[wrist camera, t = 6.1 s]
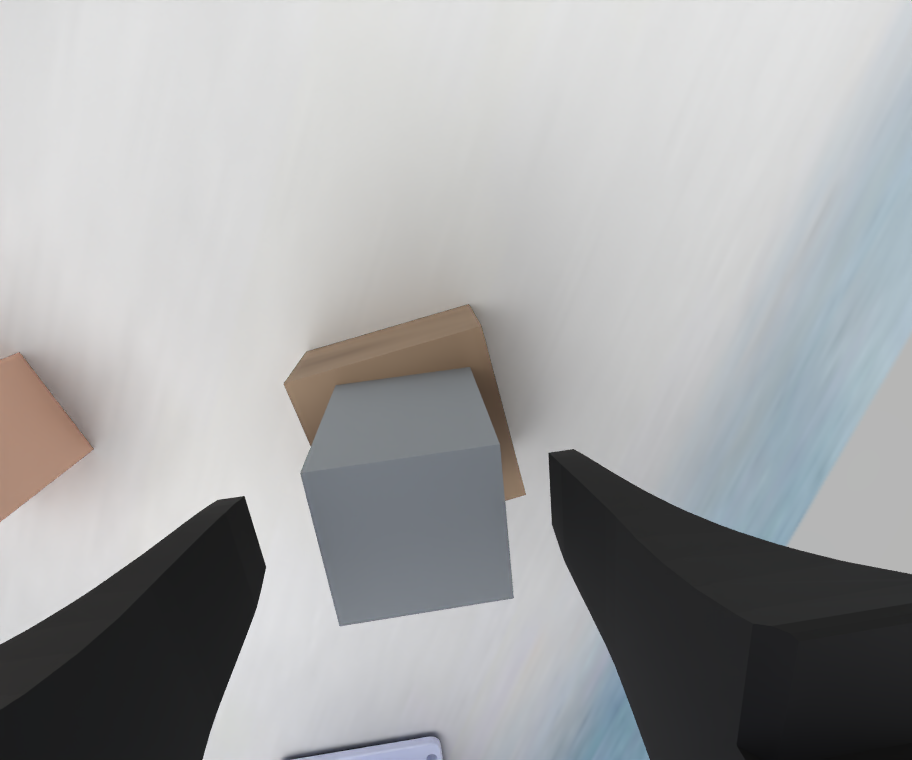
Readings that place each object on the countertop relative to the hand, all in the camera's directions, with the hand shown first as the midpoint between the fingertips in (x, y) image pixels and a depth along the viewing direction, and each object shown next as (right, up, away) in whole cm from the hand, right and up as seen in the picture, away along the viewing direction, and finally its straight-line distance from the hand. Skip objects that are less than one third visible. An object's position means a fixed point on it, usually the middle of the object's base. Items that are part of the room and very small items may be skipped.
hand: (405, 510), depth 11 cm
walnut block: (0, +2, +7) cm, 7 cm away
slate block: (0, +1, +4) cm, 4 cm away
